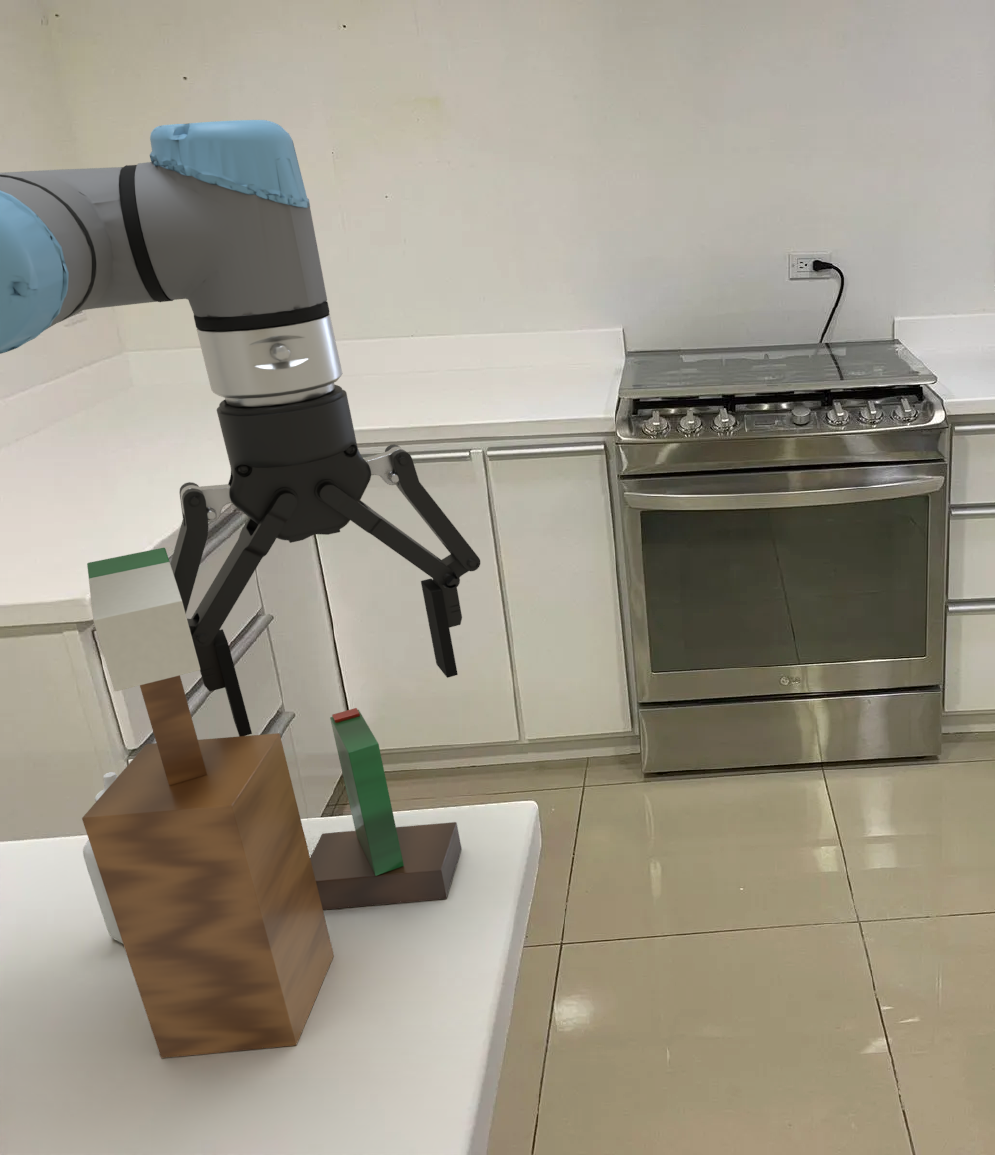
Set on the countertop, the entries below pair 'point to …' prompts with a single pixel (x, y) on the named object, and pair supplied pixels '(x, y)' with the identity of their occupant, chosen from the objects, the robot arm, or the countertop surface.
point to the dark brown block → (420, 879)
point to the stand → (211, 885)
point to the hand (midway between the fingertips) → (349, 697)
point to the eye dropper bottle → (96, 876)
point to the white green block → (140, 619)
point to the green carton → (367, 790)
